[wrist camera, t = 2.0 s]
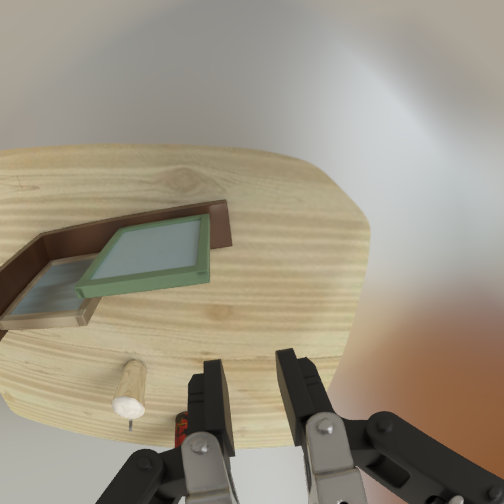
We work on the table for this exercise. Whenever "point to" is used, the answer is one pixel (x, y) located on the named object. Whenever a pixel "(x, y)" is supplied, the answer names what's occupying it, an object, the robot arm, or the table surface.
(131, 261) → the panel
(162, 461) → the robot arm
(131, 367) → the milkshake
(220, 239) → the window frame
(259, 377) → the table surface
